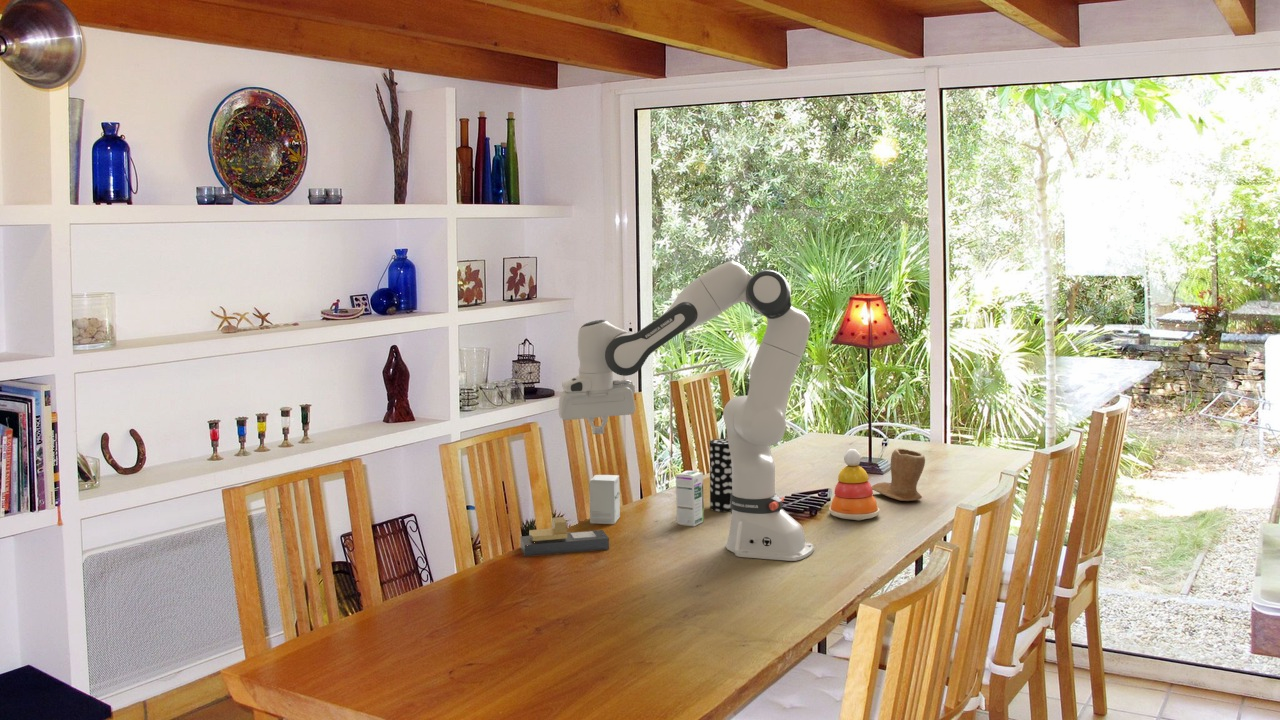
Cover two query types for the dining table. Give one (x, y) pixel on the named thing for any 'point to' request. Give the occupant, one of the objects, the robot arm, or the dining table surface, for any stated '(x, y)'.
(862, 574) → the dining table surface
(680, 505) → the syrup box
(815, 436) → the dining table surface
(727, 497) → the spotted tube
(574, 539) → the body
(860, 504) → the stacking toy
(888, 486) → the brown top hat
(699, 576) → the dining table surface
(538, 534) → the lever cap
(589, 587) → the dining table surface
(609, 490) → the supplement box
